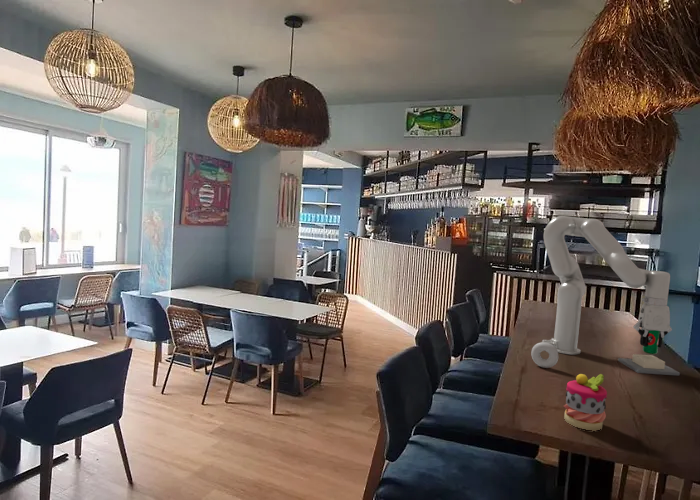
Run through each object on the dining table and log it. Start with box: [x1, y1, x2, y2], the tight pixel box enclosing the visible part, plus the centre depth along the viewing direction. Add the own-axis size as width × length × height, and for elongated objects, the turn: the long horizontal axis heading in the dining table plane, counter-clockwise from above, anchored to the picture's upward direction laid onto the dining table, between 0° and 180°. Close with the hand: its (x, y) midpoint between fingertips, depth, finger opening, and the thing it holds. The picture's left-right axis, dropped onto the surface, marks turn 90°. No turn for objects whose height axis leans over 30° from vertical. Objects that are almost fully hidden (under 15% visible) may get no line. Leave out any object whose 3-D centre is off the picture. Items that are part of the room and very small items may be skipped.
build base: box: [617, 353, 681, 376], centre depth 184 cm, size 16×14×4 cm
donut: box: [530, 341, 560, 369], centre depth 177 cm, size 10×4×10 cm, turn 55°
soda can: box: [642, 330, 660, 355], centre depth 183 cm, size 5×5×12 cm
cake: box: [563, 373, 608, 432], centre depth 130 cm, size 10×11×15 cm
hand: (650, 345), depth 183 cm, fingers closed on soda can, 5 cm apart
